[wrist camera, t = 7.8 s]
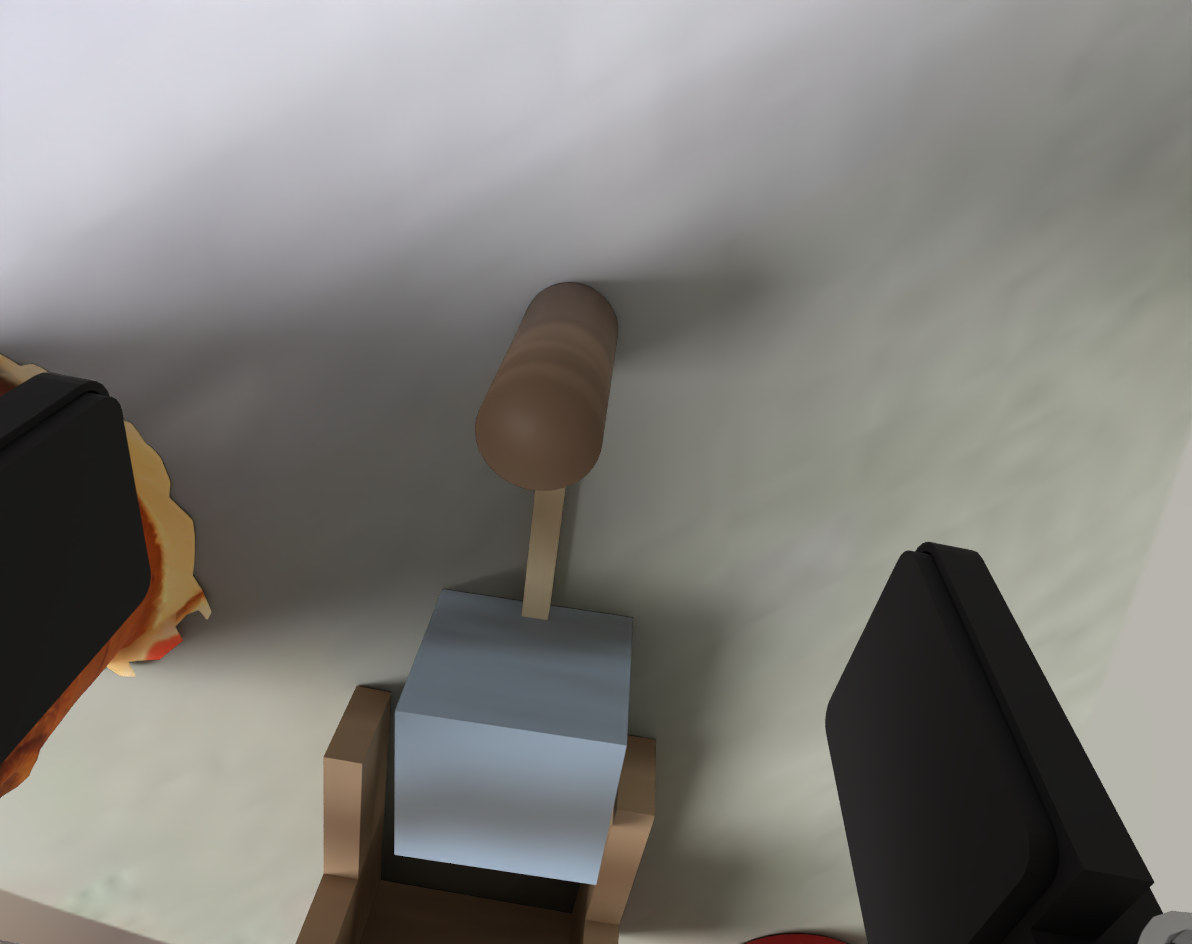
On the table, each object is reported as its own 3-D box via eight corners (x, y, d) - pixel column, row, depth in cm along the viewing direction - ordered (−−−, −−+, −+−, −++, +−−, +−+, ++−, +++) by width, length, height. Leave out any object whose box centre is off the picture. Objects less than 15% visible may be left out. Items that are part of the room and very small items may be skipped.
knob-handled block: (455, 264, 19) (379, 352, 14) (696, 301, 19) (710, 402, 14) (436, 723, 27) (383, 887, 22) (606, 748, 27) (593, 918, 22)
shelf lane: (356, 685, 27) (245, 924, 20) (655, 740, 27) (653, 995, 20) (351, 892, 33) (263, 1133, 25) (595, 934, 33) (577, 1185, 26)
